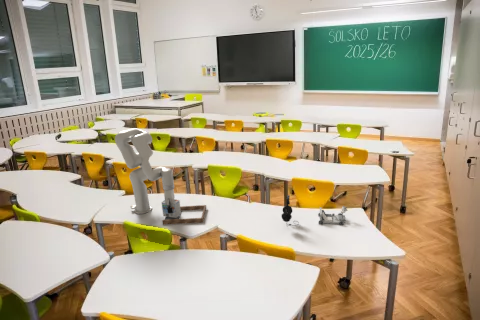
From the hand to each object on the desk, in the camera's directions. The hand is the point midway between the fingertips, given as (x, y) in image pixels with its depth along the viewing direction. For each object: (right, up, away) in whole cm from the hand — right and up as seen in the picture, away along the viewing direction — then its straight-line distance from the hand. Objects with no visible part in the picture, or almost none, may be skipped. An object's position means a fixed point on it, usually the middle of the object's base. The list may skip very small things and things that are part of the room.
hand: (171, 210), depth 232 cm
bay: (+9, -5, +1) cm, 10 cm away
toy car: (+107, -5, -17) cm, 108 cm away
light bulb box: (0, -4, +1) cm, 4 cm away
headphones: (+80, -7, -21) cm, 83 cm away
